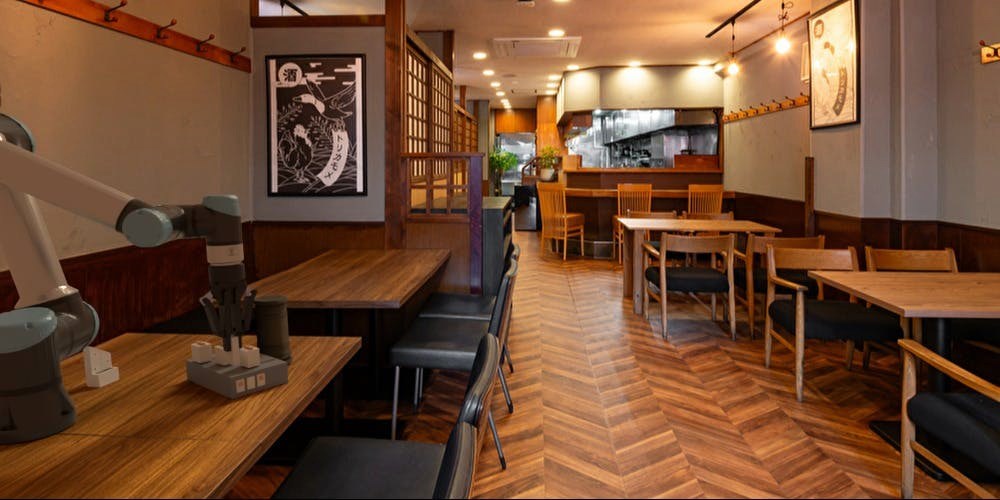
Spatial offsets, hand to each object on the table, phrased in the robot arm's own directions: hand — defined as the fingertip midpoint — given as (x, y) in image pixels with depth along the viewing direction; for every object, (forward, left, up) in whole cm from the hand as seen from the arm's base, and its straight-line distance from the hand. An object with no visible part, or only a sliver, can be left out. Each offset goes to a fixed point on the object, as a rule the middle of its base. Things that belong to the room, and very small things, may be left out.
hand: (234, 363), depth 139 cm
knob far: (-1, +13, -1) cm, 13 cm away
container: (+17, +12, -7) cm, 21 cm away
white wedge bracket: (-17, +32, -7) cm, 37 cm away
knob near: (+4, 0, -1) cm, 4 cm away
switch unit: (+4, +7, -7) cm, 10 cm away
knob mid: (+1, +7, -1) cm, 7 cm away
